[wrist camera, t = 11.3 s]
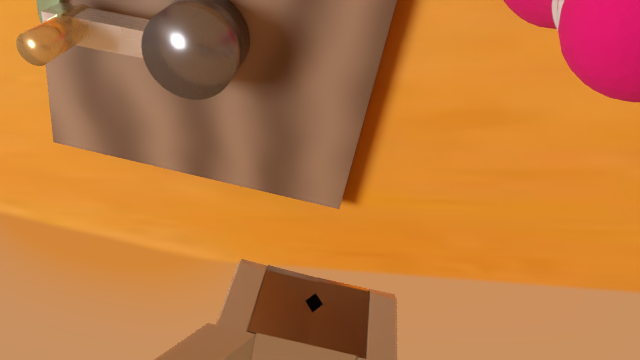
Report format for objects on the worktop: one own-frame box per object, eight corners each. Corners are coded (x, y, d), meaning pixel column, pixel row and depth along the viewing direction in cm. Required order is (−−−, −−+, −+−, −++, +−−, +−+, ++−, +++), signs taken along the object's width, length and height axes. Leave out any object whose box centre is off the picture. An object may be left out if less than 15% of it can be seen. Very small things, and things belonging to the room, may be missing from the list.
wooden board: (428, -122, 31) (431, -120, 29) (340, 198, 44) (338, 213, 43) (32, -217, 31) (10, -221, 29) (63, 133, 44) (49, 145, 42)
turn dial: (253, -1, 34) (222, 34, 28) (246, 83, 38) (218, 130, 32) (68, -36, 35) (-2, -9, 29) (77, 51, 38) (17, 91, 32)
